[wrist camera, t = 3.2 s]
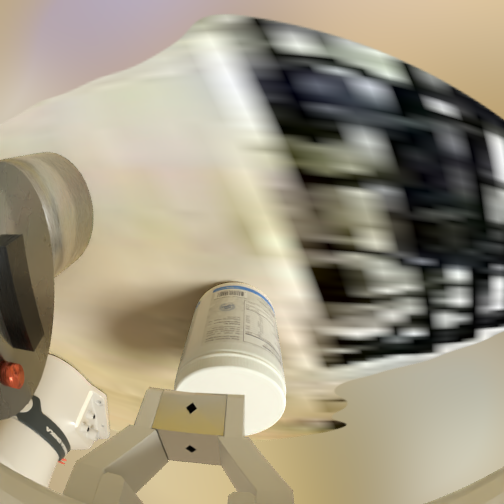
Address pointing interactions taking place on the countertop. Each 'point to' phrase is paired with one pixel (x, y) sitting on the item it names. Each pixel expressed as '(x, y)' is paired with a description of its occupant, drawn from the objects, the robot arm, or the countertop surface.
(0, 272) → the cooker lid
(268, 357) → the supplement tub
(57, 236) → the cooker pot
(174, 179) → the countertop surface
